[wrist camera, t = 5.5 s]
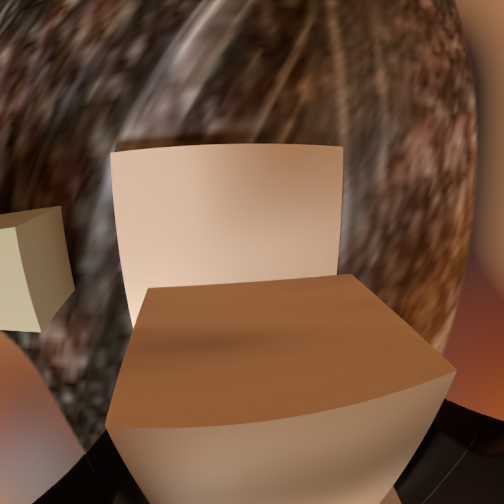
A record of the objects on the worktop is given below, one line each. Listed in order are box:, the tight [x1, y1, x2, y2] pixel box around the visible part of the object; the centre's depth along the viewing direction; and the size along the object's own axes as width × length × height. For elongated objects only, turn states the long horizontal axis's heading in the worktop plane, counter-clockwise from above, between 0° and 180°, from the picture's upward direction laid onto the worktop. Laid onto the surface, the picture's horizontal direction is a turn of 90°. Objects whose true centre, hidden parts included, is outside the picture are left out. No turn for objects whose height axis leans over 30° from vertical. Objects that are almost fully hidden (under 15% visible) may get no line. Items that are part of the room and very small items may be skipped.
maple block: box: [105, 274, 457, 504], centre depth 7 cm, size 6×6×5 cm
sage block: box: [0, 206, 75, 332], centre depth 13 cm, size 5×5×5 cm
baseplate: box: [111, 144, 343, 329], centre depth 17 cm, size 14×12×1 cm
